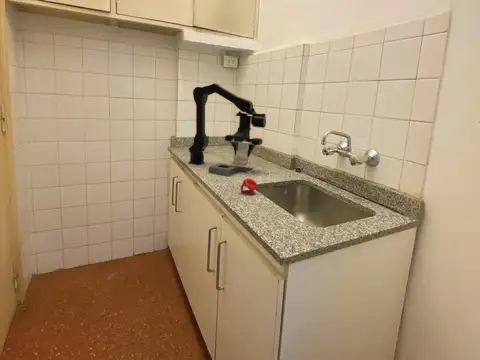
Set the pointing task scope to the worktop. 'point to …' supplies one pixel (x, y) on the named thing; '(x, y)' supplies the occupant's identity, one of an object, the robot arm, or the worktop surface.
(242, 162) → the end cover
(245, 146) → the supplement box
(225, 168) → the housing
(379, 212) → the worktop surface
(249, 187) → the red plastic curved piece
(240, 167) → the rubber mat
